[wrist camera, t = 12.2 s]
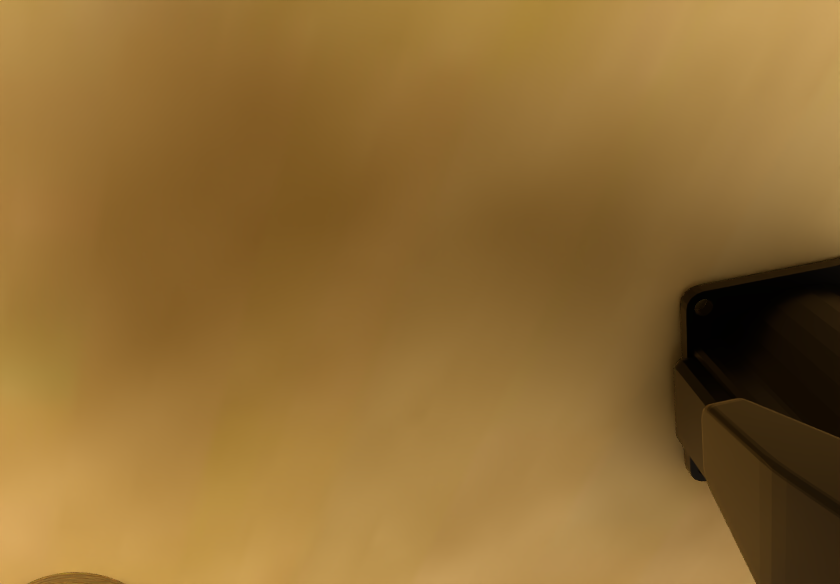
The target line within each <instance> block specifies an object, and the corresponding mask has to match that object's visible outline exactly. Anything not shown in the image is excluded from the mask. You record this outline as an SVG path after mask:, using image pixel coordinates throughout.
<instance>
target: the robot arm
mask: <svg viewBox="0 0 840 584" xmlns="http://www.w3.org/2000/svg"><path fill="white" fill-rule="evenodd" d="M703 299H707V301H706V304H705V306H704V307H703V308H701V309H699V310H695V306H696V304H697V303H698V302H699V301H701V300H703ZM680 314H681V348H682V359H680V360H679V361H678V362H677V364H676V366H675V367H674V387H675V416H676V436H677V438H678V440H679V441H680V442H681V444H682V445H683V447H684V450H685V465H686V468H687V470H688V471H689V473H690V474H691V476H692V477H693V478H694V479H695V480H698V481H707V483H708V486H709V488H710V490H711V492H712V494H713V496H714V498H715V501H716V503H717V505H718V507H719V509H720V511H721V513H722V515H723V517H724V519H725V521H726V523H727V525H728V527H729V529H730V531H731V533H732V535H733V537H734V539H735V541H736V543H737V545H738V547H739V550H740V552H741V554H742V556H743V558H744V560H745V562H746V564H747V566H748V568H749V570H750V572H751V574H752V576H753V578H754V580H755V582H756V584H840V258H837V259H832V260H827V261H822V262H816V263H811V264H806V265H801V266H796V267H791V268H785V269H780V270H775V271H770V272H765V273H759V274H754V275H749V276H744V277H739V278H734V279H728V280H723V281H718V282H713V283H708V284H703V285H697V286H695V287H692V288H690V289H689V290H688V291H686V292H685V294H684V295H683V297H682V298H681V303H680Z"/></svg>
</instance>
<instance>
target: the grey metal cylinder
mask: <svg viewBox="0 0 840 584" xmlns="http://www.w3.org/2000/svg"><path fill="white" fill-rule="evenodd" d="M28 584H124V583H122V582H120V581H118V580H115V579H112V578H109V577H105V576H101V575H97V574H90V573H78V572H73V573H60V574H53V575H50V576H46V577H42V578H40V579H37V580H34V581H32V582H30V583H28Z"/></svg>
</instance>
